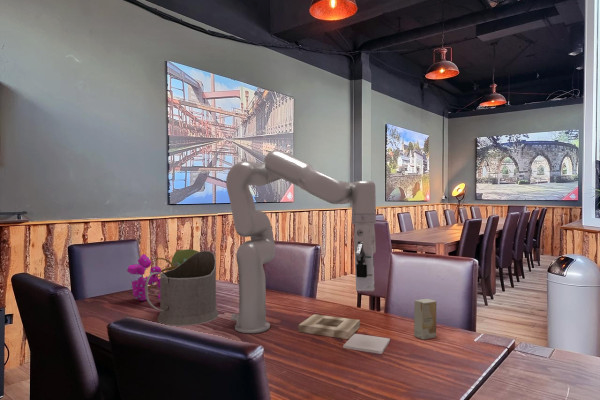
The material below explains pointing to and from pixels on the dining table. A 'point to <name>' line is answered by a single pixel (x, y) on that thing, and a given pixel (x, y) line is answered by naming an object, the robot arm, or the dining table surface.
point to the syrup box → (367, 282)
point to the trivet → (367, 343)
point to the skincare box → (425, 319)
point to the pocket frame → (318, 327)
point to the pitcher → (188, 292)
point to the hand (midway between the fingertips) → (364, 274)
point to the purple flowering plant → (145, 263)
